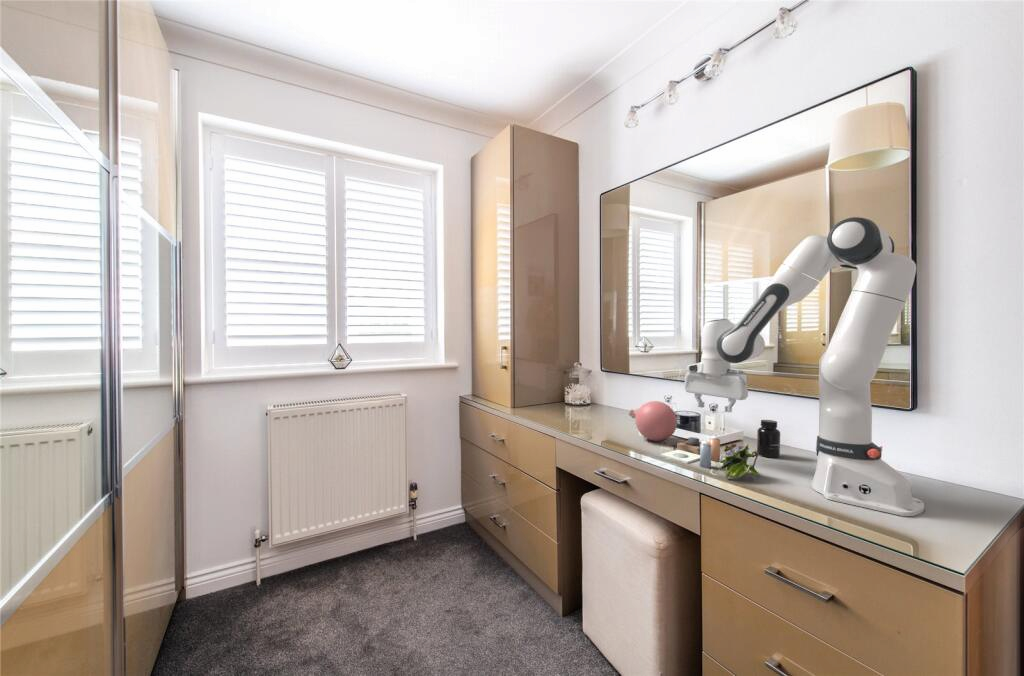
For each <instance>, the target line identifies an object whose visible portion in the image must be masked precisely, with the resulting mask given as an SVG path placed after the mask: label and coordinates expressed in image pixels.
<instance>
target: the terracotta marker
mask: <svg viewBox="0 0 1024 676" xmlns="http://www.w3.org/2000/svg"><path fill="white" fill-rule="evenodd" d="M709 442H710V445H711V462H719V460H721V439H720V437H719V436H717V435H711V436H710V438H709Z"/></svg>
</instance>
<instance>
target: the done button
mask: <svg viewBox="0 0 1024 676" xmlns="http://www.w3.org/2000/svg"><path fill="white" fill-rule="evenodd" d="M687 441H688V445H692V446H699V442H700V438H698V437H693V436H690V437H687Z"/></svg>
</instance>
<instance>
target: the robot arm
mask: <svg viewBox="0 0 1024 676" xmlns="http://www.w3.org/2000/svg"><path fill="white" fill-rule="evenodd" d="M837 266H840V267H841V268H846V269H854V270H858V276H857V280H856V281H855V284H854V286H853V288H852V290H851V293H850V294H849V297H848V298H847V301H846V304H845V306H844V308H843V310H842V313H841V315H840V317H839V319H838V322H837V324H836V327H835V330H834V332H833V334H832V337H831V339H830V342H829V345H828V347H827V349H826V351H824V353H822V355H821V357H820V358H819V362H818V363H819V364H818V403H819V405H818V406H819V407H818V412H819V413H818V415H819V416H818V435H817V436H816V444H815V450H816V457H817V461H816V466H815V471H814V476H813V478H812V481H811V483H810V487H811V488H812V489H813V490H814V491H816V492H818V493H820V494H821V495H822V496H823V497H825V498H826V499H827V500H831V501H834V502H838V503H844V504H848V505H852V506H857V507H862V508H867V509H871V510H875V511H879V512H883V513H884V512H885V513H889V514H892V515H897V516H902V517H913V516H918V515H920V514H922V513H923V512H924V511H925V504H924V502H923V501H922V500H921V499H919V498H916V497H913V494H912V487H911V484H910V481H909V480H908V479H907V478H906V476H904V475H903V474H901V473H900V472H899V471H897V470H896V469H895V468H893V467H892V466H891V465H890V464H888V462H886V461H885V460H883V459H882V455H883V453H882V452H883V446H881V445H880V446H878V445H877V444H875V443H873V441H872V438H873V437H872V435H873V434H872V433H873V432H872V431H873V428H872V427H873V410H872V400H871V398H872V397H871V382H872V381H873V380H874V378H875V376H876V374H877V372H878V370H879V367H880V365H881V362H882V360H883V358H884V354H885V352H886V349H887V347H888V344H889V341H890V339H891V338H890V337H891V335H892V332H893V331H894V328H895V326H896V323H897V322H898V320H899V317H900V315H901V313H902V311H903V310H904V307H905V305H906V303H907V301H908V298H909V296H910V293H911V291H912V288H913V285H914V282H915V277H916V273H917V265H916V263H915V261H914V260H913V259H912V258H911V257H909V256H906V255H904V254H899V253H895V243H894V241H893V239H892V237H891V236H889V234H888V233H887V231H886V230H885V229H884V228H883V227H881V226H880V225H878V224H877V223H875V221H873V220H871V219H869V218H865V217H859V216H857V217H856V216H853V217H849V218H845V219H842V220H841V221H838V222H837V223H836V224H835V225H834V226H832V227H831V228H830V229H829V232H828V235H827V236H825V235H820V234H813V235H809V236H807V237H805V238H804V239H803V240H802V241H801V242H800V243H798V245H797V246H796V247H795V248H794V249H793V250H792V251H791V252H790V253H789V255H787V256H786V257H785V259H784V260H783V262H782V263H781V265H780V266H779V267H778V269H777V270H776V272H775V273H774V275H773V276H772V277H771V279H770V280H769V282H768V284H767V285H766V287H765V288H764V290H763V292H762V293H761V294H760V296H758V298H757V299H756V300H755V302H754V303H753V304H752V305H751V307H749V309H748V310H747V312H746V313H745V314H744V315H743V316H742V317H741V319H740V320H739V321H738V322H737V323H734V322H732V321H730V320H729V319H727V318H721V319H720V318H719V319H718V318H717V319H713V320H708V321H707V322H706V323H704V325H703V328H702V332H701V333H702V334H701V346H700V347H701V350H702V354H701V357H700V362H696V363H692V364H688V365H686V371H687V373H686V374H685V377H684V390H685V391H686V393H690V394H694V398H695V400H696V402H697V408H701V409H702V408H705V401H703V400H702V398H701V397H702V395H704V396H709V397H710V396H711V397H715V398H723V399H728V400H727V401H728V402H729V403H728V405H726V406H724V412H725V413H732V412H733V407H734V405H735V404H736V402H737V400H738V401H743V400H746V399H747V398H748V397H749V389H748V387H749V386H748V379H749V378H748V377H749V376H748V374H747V373H746V372H744V371H743V370H741V369H739V370H737V369H732V368H731V364H738V363H739V364H740V363H742V362H745V361H748V360H749V361H750V360H753V359H756V358H758V357H759V356H760V355H762V353H763V352H764V350H765V346H766V343H765V340H764V338H763V336H762V334H760V333H761V332H763V330H764V329H765V328H766V326H768V324H769V323H770V321H772V319H774V317H775V316H776V315H777V314H778V313H779V312H781V311H782V310H784V309H785V308H787V307H789V306H792V305H794V304H796V303H799V302H801V301H803V300H804V299H805V298H806V297H808V296H809V295H810V294H811V293H812V292H814V290H815V289H816V287H818V285H819V284H820V282H821V281H823V279H824V277H826V275H827V274H828V273H829V271H831V270H832V269H834V268H835V267H837Z"/></svg>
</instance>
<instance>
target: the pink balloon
mask: <svg viewBox="0 0 1024 676" xmlns="http://www.w3.org/2000/svg"><path fill="white" fill-rule="evenodd" d="M627 413H628V415H629V416H630V418H632V419H635V425H636V428H637V431H638V432H639V433H640V434H641V435H642V436H643V437H644V438H645V439H647V440H650V441H653V442H662V441H666V440H667V439H669V438H671V437H672V436H673V435H674V433H675V432H676V430H677V425H678V419H677V415H676V413H675V412H674V410H673V408H672V407H671V406H670V405H668V404H666V403H665V402H662V401H659V400H658V401H657V400H652V401H649V402H645V403H644V404H642V405H641V406H640V407H639V408H636V409H629V410H628V411H627Z"/></svg>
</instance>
